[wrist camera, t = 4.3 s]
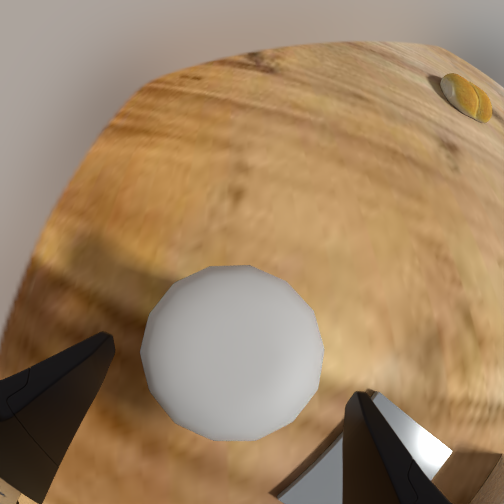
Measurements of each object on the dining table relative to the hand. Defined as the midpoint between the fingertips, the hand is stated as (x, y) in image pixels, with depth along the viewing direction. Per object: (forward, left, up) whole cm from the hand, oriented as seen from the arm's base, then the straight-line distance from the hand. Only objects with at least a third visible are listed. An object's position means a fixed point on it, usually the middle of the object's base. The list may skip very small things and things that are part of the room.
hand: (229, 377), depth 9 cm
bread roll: (+45, -2, -9) cm, 46 cm away
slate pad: (0, -14, -9) cm, 16 cm away
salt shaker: (+1, 0, -9) cm, 9 cm away
